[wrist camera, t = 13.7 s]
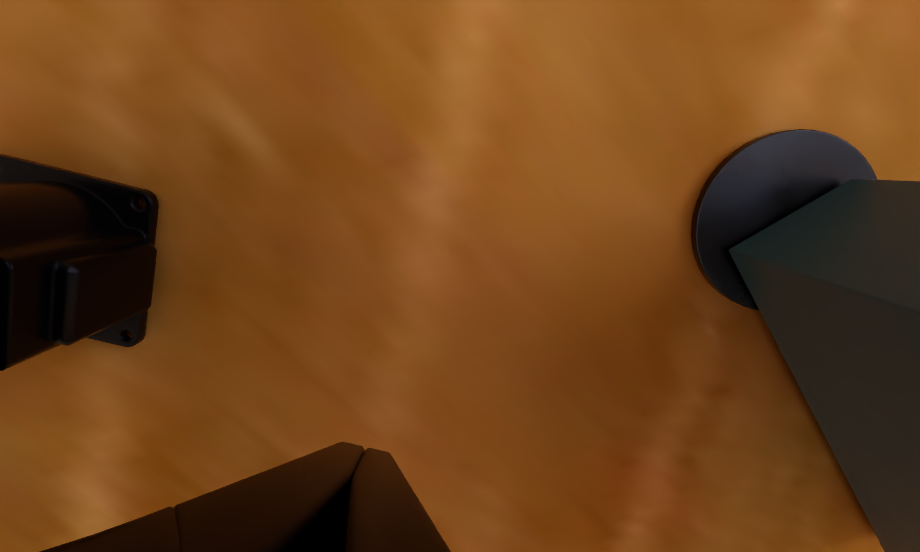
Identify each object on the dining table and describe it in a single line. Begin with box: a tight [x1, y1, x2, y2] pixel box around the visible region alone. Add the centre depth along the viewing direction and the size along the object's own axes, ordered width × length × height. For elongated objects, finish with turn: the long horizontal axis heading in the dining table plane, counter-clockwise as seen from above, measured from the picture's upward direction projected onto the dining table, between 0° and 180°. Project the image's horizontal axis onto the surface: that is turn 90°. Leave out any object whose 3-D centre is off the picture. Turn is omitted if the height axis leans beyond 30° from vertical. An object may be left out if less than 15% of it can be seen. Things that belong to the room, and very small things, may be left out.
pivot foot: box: [692, 129, 877, 310], centre depth 19 cm, size 7×7×1 cm
